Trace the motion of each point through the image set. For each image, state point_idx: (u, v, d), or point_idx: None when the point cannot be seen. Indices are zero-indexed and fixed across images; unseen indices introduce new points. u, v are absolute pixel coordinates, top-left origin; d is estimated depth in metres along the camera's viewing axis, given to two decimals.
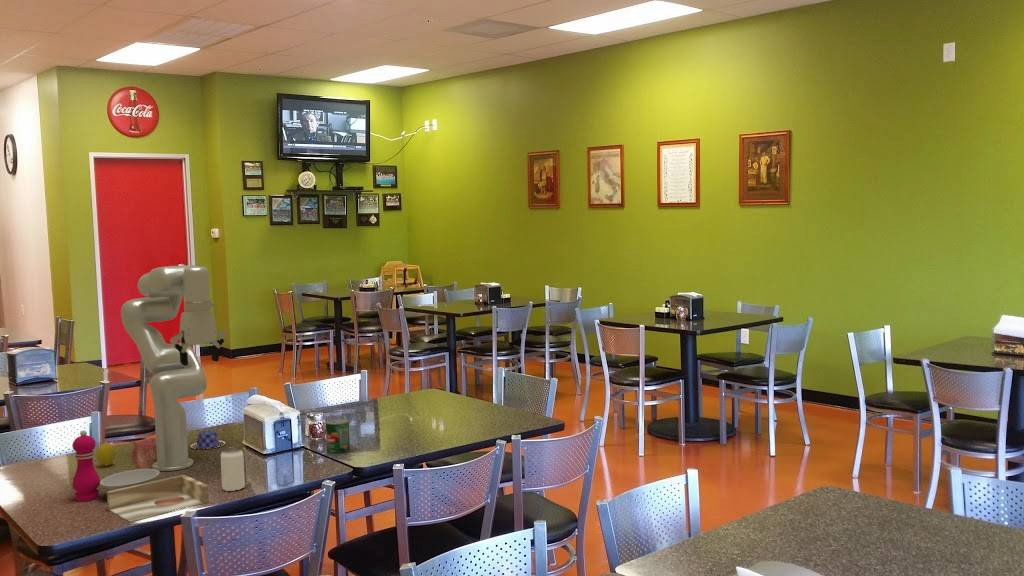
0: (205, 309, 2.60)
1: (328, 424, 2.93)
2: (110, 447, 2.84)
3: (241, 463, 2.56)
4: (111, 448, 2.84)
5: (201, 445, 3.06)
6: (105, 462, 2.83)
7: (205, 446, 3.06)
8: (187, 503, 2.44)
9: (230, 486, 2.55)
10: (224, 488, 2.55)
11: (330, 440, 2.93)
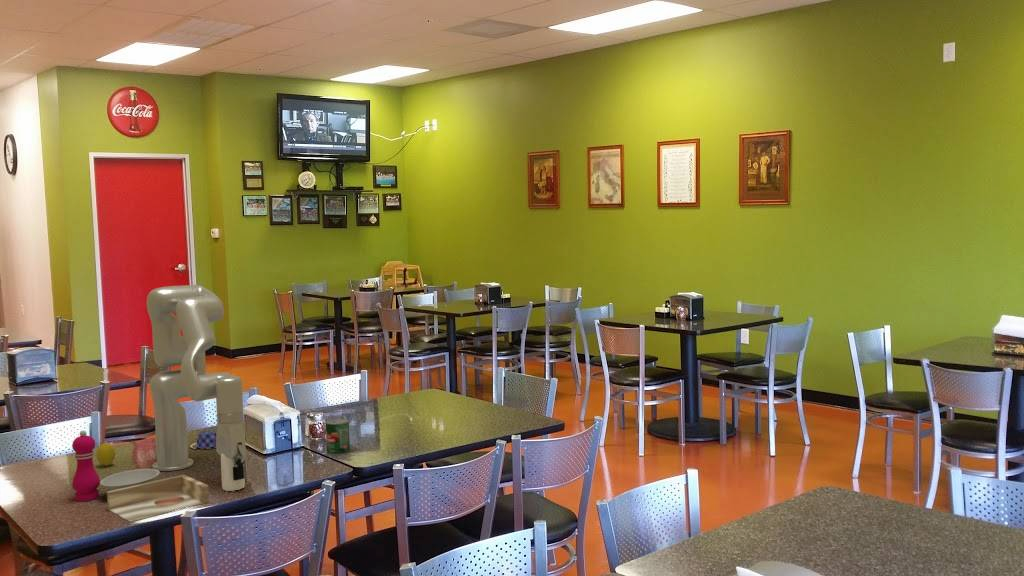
0: None
1: (328, 424, 2.93)
2: (110, 447, 2.84)
3: None
4: (111, 448, 2.84)
5: (200, 445, 3.06)
6: (105, 462, 2.83)
7: (205, 446, 3.06)
8: (187, 503, 2.44)
9: (230, 486, 2.55)
10: (224, 488, 2.55)
11: (330, 440, 2.93)
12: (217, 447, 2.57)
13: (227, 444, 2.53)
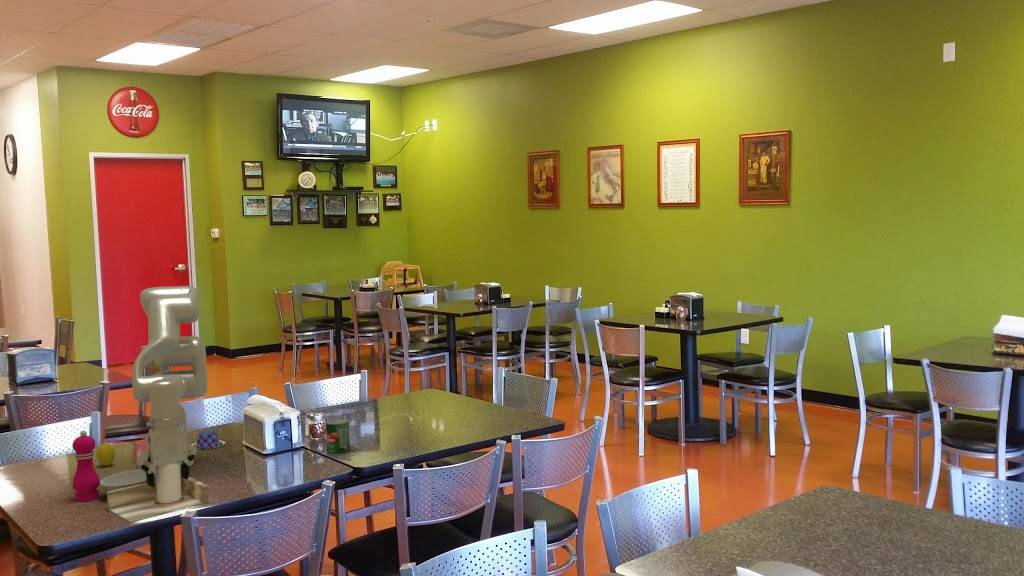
0: None
1: (328, 424, 2.93)
2: (110, 447, 2.84)
3: None
4: (111, 448, 2.84)
5: (202, 445, 3.06)
6: (105, 462, 2.83)
7: (207, 446, 3.06)
8: (187, 503, 2.44)
9: (180, 494, 2.47)
10: (176, 499, 2.45)
11: (330, 440, 2.93)
12: (159, 458, 2.41)
13: (181, 446, 2.45)
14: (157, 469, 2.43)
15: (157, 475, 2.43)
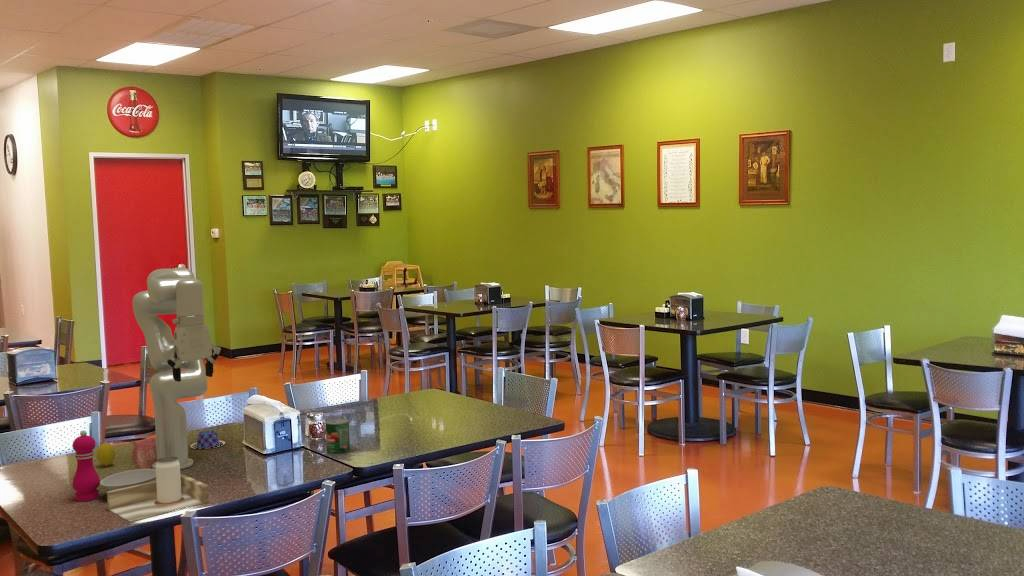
0: None
1: (328, 424, 2.93)
2: (110, 447, 2.84)
3: None
4: (111, 448, 2.84)
5: (203, 445, 3.06)
6: (105, 462, 2.83)
7: (208, 446, 3.06)
8: (187, 503, 2.44)
9: (180, 494, 2.47)
10: (176, 499, 2.45)
11: (330, 440, 2.93)
12: (185, 353, 2.51)
13: (205, 344, 2.55)
14: (157, 469, 2.43)
15: (157, 475, 2.43)
